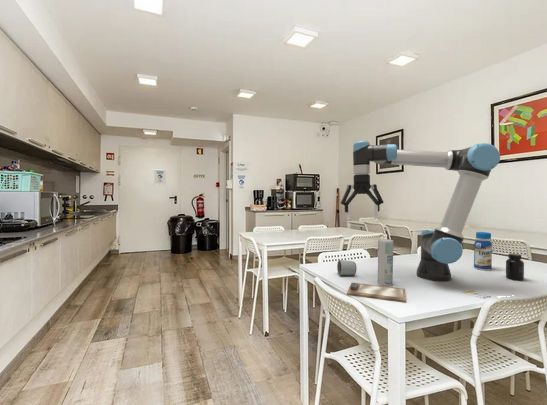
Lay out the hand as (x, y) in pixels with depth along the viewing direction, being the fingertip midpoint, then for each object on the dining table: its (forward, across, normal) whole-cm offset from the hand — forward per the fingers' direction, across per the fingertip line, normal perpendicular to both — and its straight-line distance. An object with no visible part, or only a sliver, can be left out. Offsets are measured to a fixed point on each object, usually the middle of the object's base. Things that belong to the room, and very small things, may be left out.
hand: (362, 219), depth 141 cm
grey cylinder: (+29, +6, -9) cm, 31 cm away
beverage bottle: (+31, -74, -14) cm, 81 cm away
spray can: (+29, -7, +8) cm, 31 cm away
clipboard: (+29, +2, +19) cm, 35 cm away
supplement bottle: (+31, -74, +5) cm, 80 cm away
